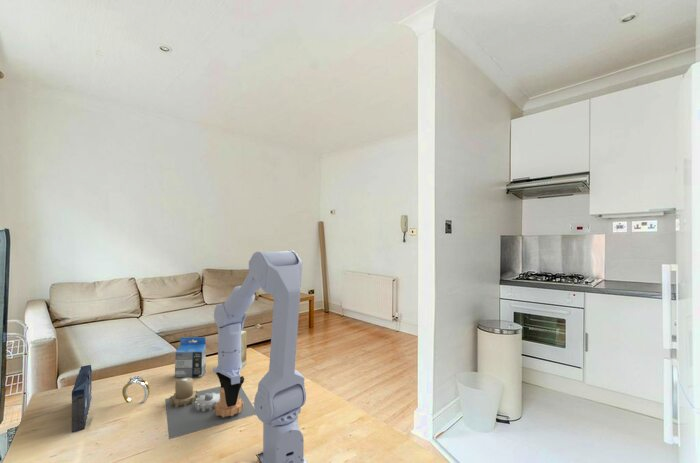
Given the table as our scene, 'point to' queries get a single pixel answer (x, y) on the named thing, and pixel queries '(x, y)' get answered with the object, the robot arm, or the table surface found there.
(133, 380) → the ring
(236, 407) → the planet gear
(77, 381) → the vhs cassette tape
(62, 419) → the table surface
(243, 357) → the skincare box
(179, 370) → the label tape box
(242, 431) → the table surface
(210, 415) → the carrier board
